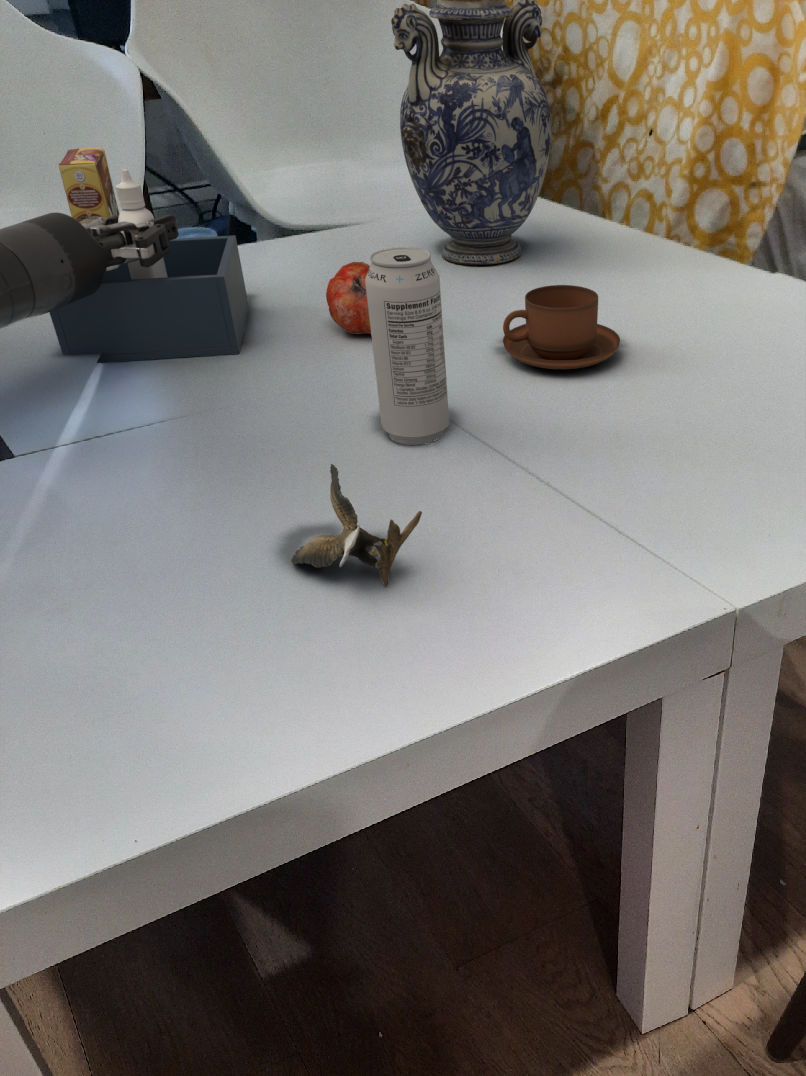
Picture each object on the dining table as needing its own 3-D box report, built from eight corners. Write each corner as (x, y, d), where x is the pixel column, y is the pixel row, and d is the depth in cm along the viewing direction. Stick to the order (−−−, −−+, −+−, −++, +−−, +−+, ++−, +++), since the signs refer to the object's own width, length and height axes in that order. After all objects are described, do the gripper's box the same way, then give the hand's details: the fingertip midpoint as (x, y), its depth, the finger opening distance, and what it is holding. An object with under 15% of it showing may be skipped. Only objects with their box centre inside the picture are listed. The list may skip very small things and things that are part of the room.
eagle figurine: (440, 538, 73) (348, 486, 76) (409, 490, 67) (309, 434, 70) (379, 623, 72) (288, 566, 75) (342, 582, 66) (243, 522, 69)
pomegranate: (335, 343, 115) (307, 311, 105) (346, 278, 114) (320, 240, 104) (398, 354, 114) (376, 323, 104) (410, 289, 114) (389, 252, 104)
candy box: (134, 308, 118) (95, 162, 108) (95, 311, 117) (53, 164, 107) (139, 285, 124) (104, 145, 115) (103, 288, 124) (64, 148, 114)
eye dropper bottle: (187, 290, 109) (160, 166, 102) (152, 305, 105) (122, 177, 98) (154, 285, 111) (126, 163, 103) (119, 300, 107) (87, 173, 99)
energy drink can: (439, 415, 93) (426, 242, 84) (458, 441, 89) (447, 261, 79) (375, 425, 92) (354, 250, 82) (392, 452, 87) (372, 270, 78)
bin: (65, 365, 104) (41, 286, 99) (93, 316, 116) (72, 243, 111) (239, 354, 106) (223, 276, 101) (249, 306, 118) (235, 235, 113)
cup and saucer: (554, 389, 98) (554, 325, 94) (480, 355, 105) (477, 294, 101) (643, 360, 104) (646, 298, 100) (567, 329, 111) (568, 270, 107)
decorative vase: (501, 226, 144) (494, -15, 126) (587, 254, 133) (592, -6, 115) (375, 255, 134) (347, -4, 116) (457, 287, 123) (440, 7, 105)
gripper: (88, 229, 89) (204, 188, 102) (-36, 216, 93) (90, 179, 106) (111, 316, 94) (219, 267, 106) (-8, 300, 98) (110, 255, 110)
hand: (154, 223), depth 106 cm, fingers closed on eye dropper bottle, 4 cm apart
